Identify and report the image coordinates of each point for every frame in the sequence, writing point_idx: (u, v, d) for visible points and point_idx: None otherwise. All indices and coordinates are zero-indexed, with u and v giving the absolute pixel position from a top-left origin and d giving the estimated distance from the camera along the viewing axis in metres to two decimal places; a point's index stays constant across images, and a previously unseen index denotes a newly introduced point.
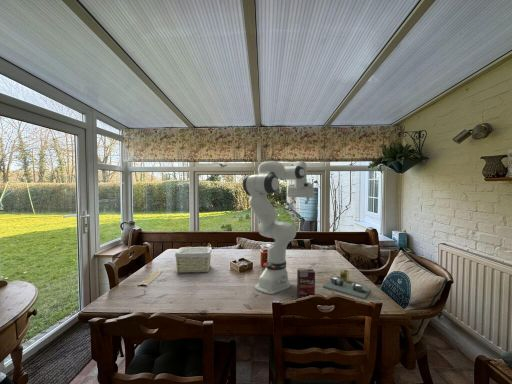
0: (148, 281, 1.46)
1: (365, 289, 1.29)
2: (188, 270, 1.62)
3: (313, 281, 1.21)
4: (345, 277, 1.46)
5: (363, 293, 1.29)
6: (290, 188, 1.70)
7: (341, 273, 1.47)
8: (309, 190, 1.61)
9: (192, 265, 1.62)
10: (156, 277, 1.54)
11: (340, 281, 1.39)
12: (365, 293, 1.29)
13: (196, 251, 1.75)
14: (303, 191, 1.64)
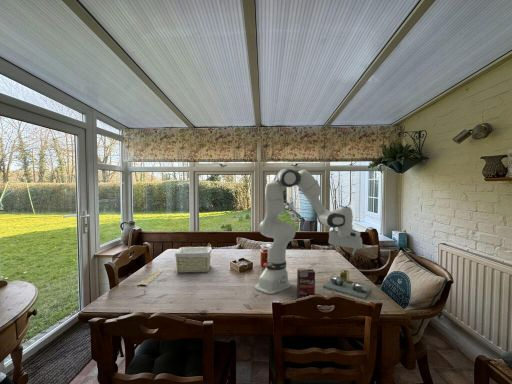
0: (147, 281, 1.46)
1: (365, 289, 1.29)
2: (188, 270, 1.62)
3: (313, 281, 1.21)
4: (345, 277, 1.46)
5: (363, 293, 1.29)
6: (332, 235, 1.51)
7: (341, 273, 1.47)
8: (357, 240, 1.41)
9: (192, 265, 1.62)
10: (155, 277, 1.54)
11: (340, 281, 1.39)
12: (365, 293, 1.29)
13: (196, 251, 1.75)
14: (349, 240, 1.44)
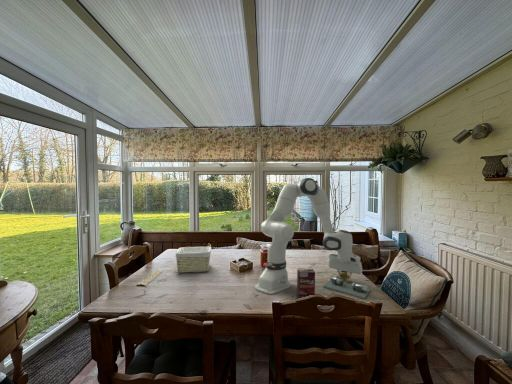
0: (147, 281, 1.46)
1: (365, 289, 1.29)
2: (189, 270, 1.62)
3: (313, 281, 1.21)
4: (345, 277, 1.46)
5: (363, 293, 1.29)
6: (332, 259, 1.51)
7: (341, 273, 1.47)
8: (357, 266, 1.41)
9: (193, 265, 1.63)
10: (155, 277, 1.54)
11: (340, 281, 1.39)
12: (365, 293, 1.29)
13: (195, 251, 1.76)
14: (349, 265, 1.45)
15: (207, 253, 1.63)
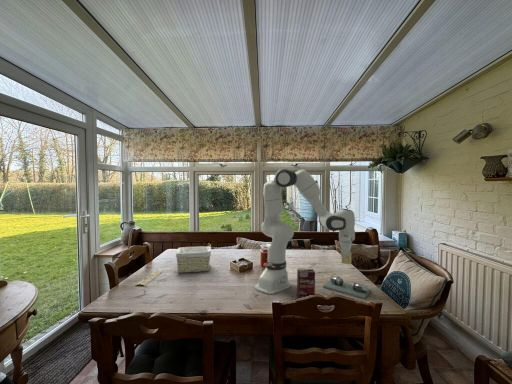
0: (146, 281, 1.46)
1: (365, 289, 1.29)
2: (189, 270, 1.62)
3: (313, 281, 1.21)
4: None
5: (363, 293, 1.29)
6: None
7: None
8: None
9: (193, 265, 1.63)
10: (155, 277, 1.54)
11: (340, 281, 1.39)
12: (365, 293, 1.29)
13: (195, 251, 1.76)
14: None
15: (208, 253, 1.64)
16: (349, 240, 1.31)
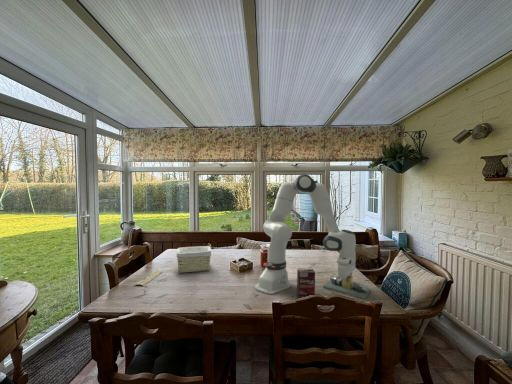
0: (145, 281, 1.46)
1: (365, 289, 1.29)
2: (190, 270, 1.63)
3: (313, 281, 1.21)
4: None
5: (363, 293, 1.29)
6: None
7: None
8: None
9: (194, 264, 1.64)
10: (154, 277, 1.54)
11: (340, 281, 1.39)
12: (365, 293, 1.29)
13: (194, 251, 1.76)
14: None
15: (208, 252, 1.66)
16: (346, 263, 1.29)
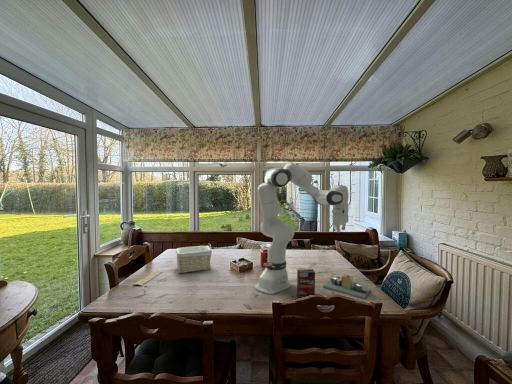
0: (144, 281, 1.46)
1: (365, 289, 1.29)
2: (191, 269, 1.63)
3: (313, 281, 1.21)
4: None
5: (363, 293, 1.29)
6: None
7: None
8: None
9: (195, 264, 1.64)
10: (154, 277, 1.54)
11: (340, 281, 1.39)
12: (365, 293, 1.29)
13: (193, 250, 1.77)
14: None
15: (209, 251, 1.68)
16: (340, 212, 1.45)
